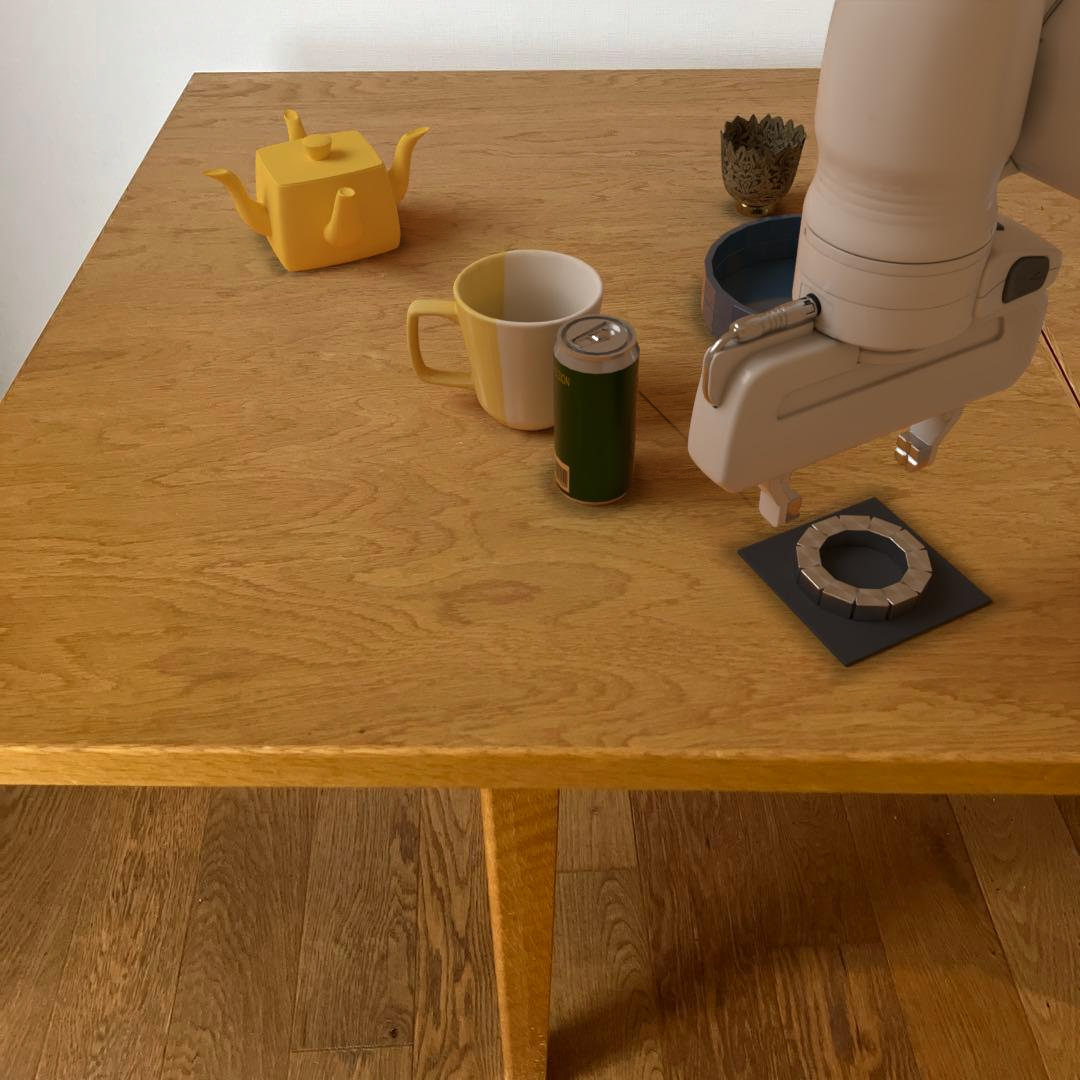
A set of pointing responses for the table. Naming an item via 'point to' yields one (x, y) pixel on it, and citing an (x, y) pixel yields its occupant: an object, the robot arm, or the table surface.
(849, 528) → the ring
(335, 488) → the table surface
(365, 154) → the teapot
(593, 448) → the beer can
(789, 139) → the cup
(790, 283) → the bowl
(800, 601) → the mat
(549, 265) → the mug
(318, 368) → the table surface
